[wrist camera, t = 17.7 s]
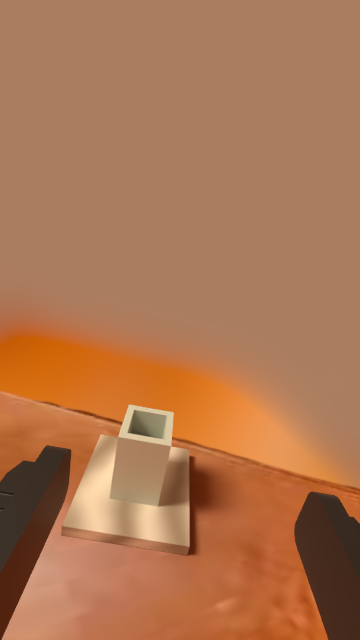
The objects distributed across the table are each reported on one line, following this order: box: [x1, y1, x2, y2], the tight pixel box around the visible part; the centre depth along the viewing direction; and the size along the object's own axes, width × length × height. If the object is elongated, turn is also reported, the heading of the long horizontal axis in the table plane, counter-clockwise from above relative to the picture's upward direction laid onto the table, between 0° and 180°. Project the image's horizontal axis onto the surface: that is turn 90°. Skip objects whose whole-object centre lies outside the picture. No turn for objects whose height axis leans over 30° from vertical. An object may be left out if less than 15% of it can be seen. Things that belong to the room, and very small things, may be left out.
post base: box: [61, 434, 190, 555], centre depth 38 cm, size 15×15×8 cm
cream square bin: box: [109, 405, 174, 507], centre depth 38 cm, size 6×6×10 cm
